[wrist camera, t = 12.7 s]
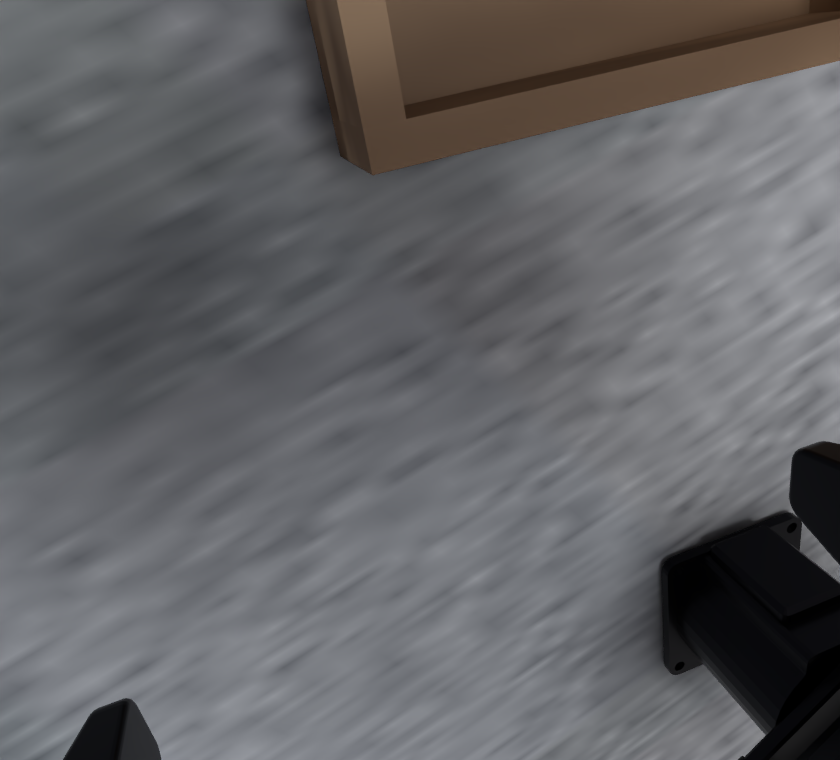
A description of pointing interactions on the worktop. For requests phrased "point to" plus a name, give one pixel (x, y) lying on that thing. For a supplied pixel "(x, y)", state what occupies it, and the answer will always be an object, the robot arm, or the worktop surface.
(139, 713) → the robot arm
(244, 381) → the worktop surface
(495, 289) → the worktop surface
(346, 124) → the tray
